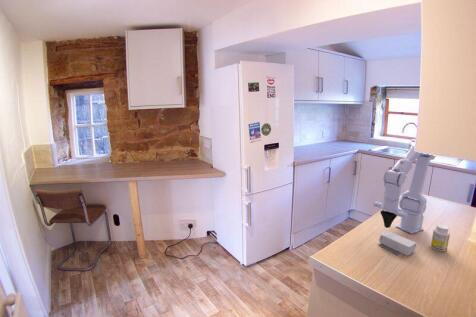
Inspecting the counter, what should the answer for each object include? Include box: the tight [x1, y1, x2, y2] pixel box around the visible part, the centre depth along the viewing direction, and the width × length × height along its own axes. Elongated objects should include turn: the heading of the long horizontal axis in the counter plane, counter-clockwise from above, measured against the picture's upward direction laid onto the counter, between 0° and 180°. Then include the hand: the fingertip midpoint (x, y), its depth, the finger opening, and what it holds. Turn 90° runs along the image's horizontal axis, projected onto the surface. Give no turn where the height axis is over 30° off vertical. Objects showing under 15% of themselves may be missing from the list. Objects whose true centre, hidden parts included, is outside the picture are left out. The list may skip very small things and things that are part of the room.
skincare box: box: [378, 230, 417, 256], centre depth 114 cm, size 6×4×12 cm
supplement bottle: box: [430, 224, 451, 252], centre depth 113 cm, size 6×6×10 cm
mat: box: [377, 243, 402, 256], centre depth 115 cm, size 9×8×1 cm
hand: (387, 226), depth 116 cm, fingers closed
